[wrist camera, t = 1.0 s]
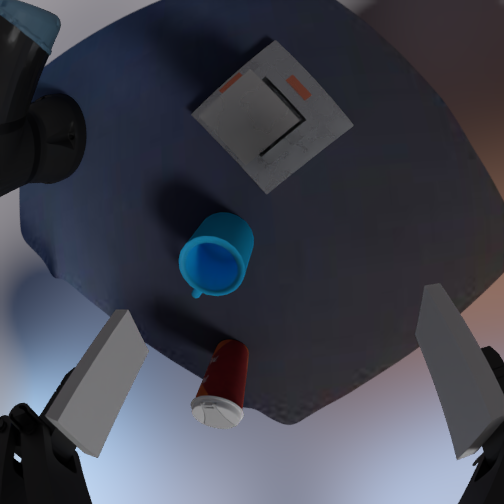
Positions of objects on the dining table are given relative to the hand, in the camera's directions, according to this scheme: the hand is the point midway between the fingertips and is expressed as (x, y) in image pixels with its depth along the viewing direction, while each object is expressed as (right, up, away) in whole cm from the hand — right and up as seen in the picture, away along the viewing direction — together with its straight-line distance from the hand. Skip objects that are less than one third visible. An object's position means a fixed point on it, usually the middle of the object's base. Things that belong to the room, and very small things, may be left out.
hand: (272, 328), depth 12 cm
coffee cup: (-4, -15, +40) cm, 43 cm away
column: (+1, +19, +20) cm, 27 cm away
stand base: (+2, +20, +21) cm, 29 cm away
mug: (-5, +4, +31) cm, 32 cm away
